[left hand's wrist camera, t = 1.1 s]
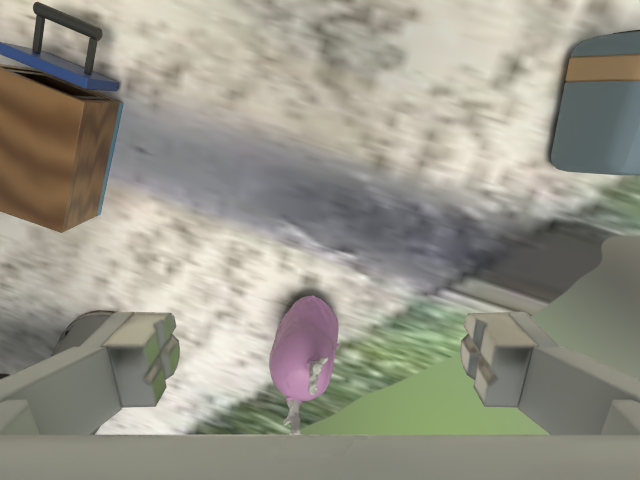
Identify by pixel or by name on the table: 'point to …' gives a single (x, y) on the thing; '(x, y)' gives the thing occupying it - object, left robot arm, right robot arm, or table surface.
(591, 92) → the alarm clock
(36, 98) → the cabinet
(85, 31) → the drawer
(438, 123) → the table surface
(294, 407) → the toy character
